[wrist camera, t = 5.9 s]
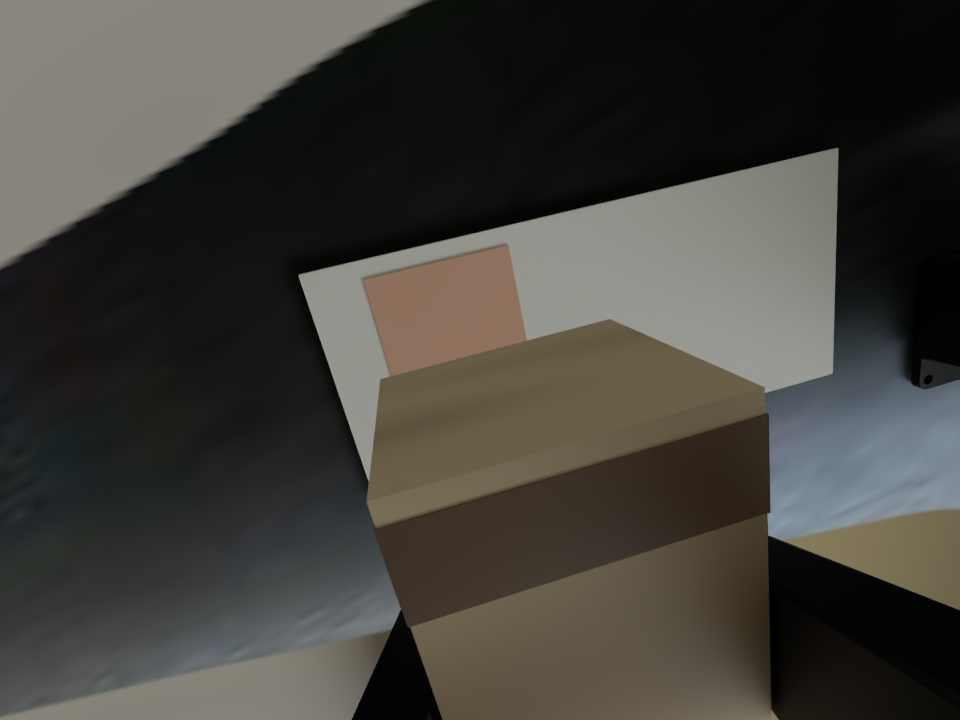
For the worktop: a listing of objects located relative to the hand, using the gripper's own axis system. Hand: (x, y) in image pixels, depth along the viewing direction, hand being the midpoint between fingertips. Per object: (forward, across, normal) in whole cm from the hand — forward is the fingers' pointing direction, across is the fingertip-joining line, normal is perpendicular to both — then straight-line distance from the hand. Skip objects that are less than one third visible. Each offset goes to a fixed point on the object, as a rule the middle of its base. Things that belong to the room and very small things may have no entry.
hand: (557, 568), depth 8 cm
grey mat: (+12, -6, 0) cm, 14 cm away
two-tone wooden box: (+1, 0, 0) cm, 1 cm away
